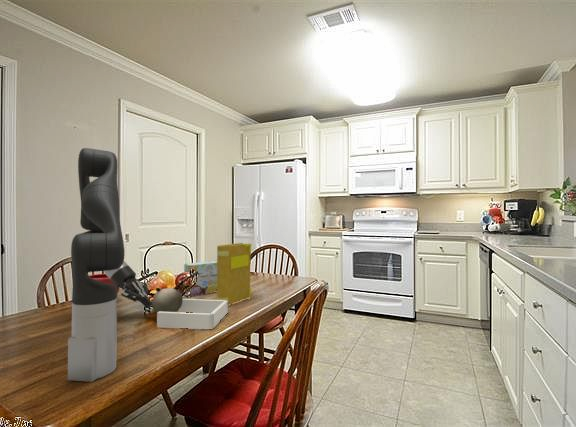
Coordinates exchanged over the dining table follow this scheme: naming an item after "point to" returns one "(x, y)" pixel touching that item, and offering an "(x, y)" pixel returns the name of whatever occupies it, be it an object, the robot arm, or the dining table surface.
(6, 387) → the dining table surface
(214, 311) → the box
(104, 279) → the plant pot
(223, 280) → the book
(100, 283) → the robot arm
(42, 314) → the dining table surface
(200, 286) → the snack box
